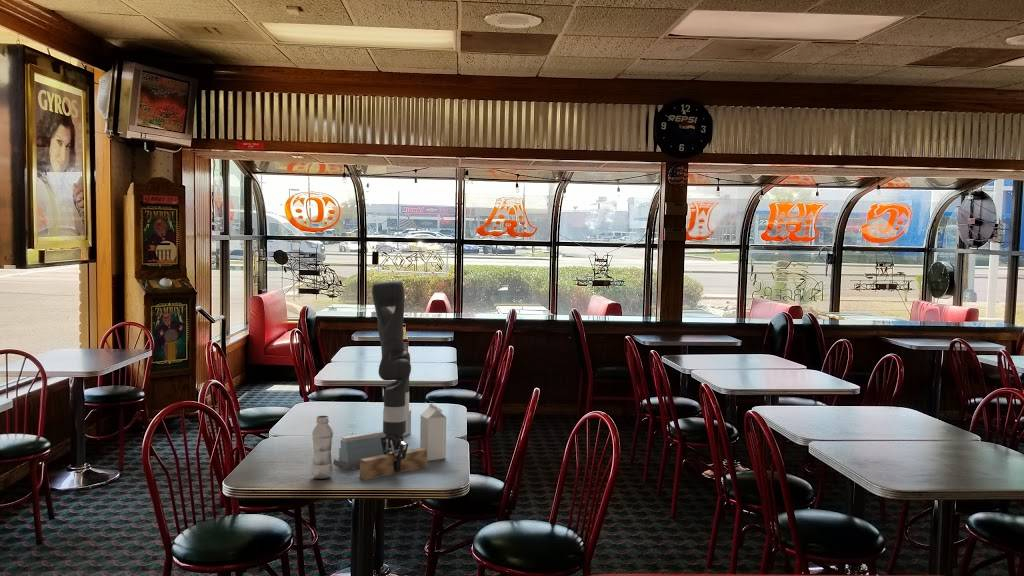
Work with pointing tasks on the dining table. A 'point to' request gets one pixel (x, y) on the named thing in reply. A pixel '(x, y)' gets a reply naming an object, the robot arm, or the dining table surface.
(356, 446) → the fulcrum ridge
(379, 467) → the walnut plank
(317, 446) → the plastic bottle
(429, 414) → the milk carton
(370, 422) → the dining table surface
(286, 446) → the dining table surface
